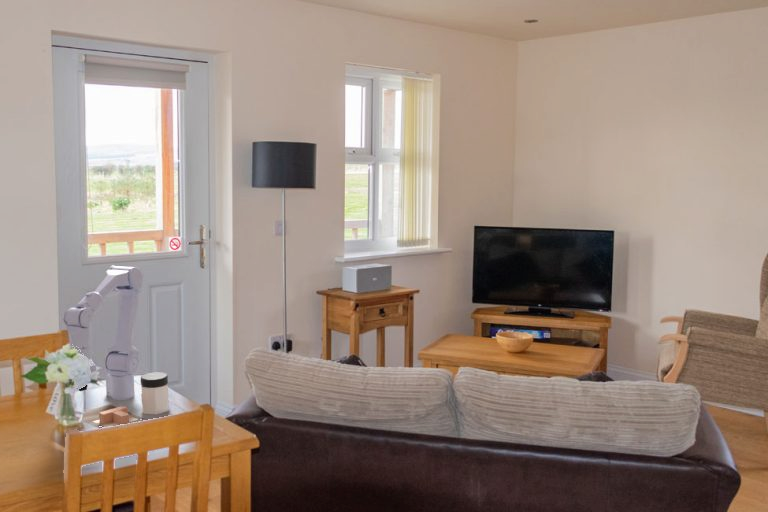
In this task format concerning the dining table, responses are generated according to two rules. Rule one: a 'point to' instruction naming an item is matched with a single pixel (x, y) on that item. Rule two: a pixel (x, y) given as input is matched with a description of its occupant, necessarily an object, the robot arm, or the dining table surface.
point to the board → (93, 414)
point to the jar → (155, 393)
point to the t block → (115, 415)
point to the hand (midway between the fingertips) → (82, 390)
